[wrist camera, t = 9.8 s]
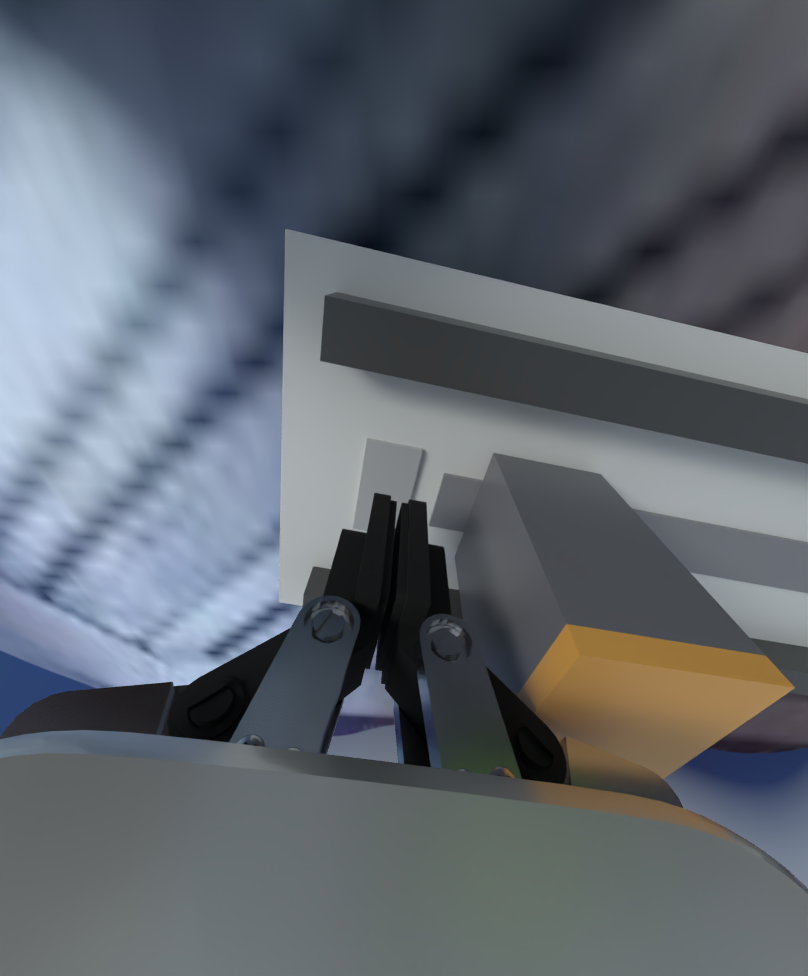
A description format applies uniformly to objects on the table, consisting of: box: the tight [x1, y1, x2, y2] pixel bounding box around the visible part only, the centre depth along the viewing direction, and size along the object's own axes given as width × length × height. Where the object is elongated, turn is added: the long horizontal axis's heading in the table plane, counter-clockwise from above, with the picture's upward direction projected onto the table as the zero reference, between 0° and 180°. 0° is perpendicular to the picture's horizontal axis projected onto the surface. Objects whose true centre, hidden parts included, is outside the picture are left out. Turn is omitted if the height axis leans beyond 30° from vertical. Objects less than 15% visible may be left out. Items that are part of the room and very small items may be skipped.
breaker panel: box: [279, 229, 808, 695], centre depth 15 cm, size 15×30×5 cm, turn 79°
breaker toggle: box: [455, 453, 795, 779], centre depth 11 cm, size 5×4×8 cm
